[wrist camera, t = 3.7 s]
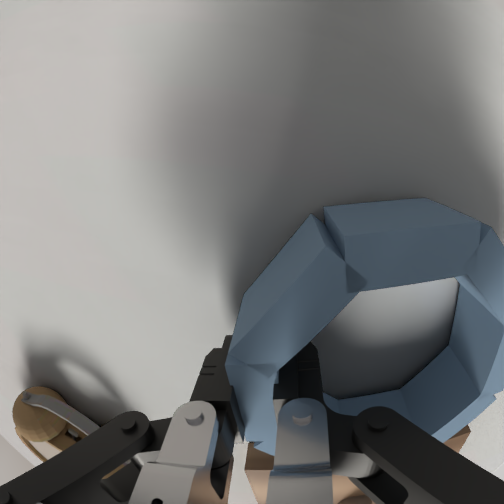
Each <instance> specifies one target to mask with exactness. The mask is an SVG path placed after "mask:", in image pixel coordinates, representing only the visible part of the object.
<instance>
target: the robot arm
mask: <svg viewBox="0 0 504 504" xmlns="http://www.w3.org/2000/svg"><path fill="white" fill-rule="evenodd" d="M232 336H233V335H226V337H225V340H224V343H223V346H222V348H214V349H213V350H212V351H211V352H210V353H209V354H208V355H207V356H206V357H205V360H204V363H203V365H202V368H201V371H200V375H199V376H198V379H197V382H196V385H195V388H194V390H193V393H192V396H191V399H190V401H189V402H188V403H185V404H183V405H181V406H180V407H179V408H178V409H177V410H176V411H175V412H174V414H173V417H171V418H167V419H161V420H155V421H149V420H148V418H147V416H146V415H145V414H143V413H141V412H138V411H129V412H125V413H123V414H121V415H119V416H117V417H116V418H114V419H113V420H111V421H110V422H108V423H107V424H105V425H104V426H102V427H100V428H99V429H97V430H96V431H94V432H93V433H91V434H90V435H88V436H86V437H85V438H83V439H82V440H80V441H78V442H77V443H75V444H74V445H72V446H70V447H69V448H67V449H65V450H64V451H62V452H60V453H59V454H57V455H55V456H54V457H52V458H50V459H49V460H47V461H45V462H43V463H42V464H40V465H38V466H37V467H35V468H33V469H31V470H29V471H28V472H26V473H24V474H22V475H21V476H19V477H17V478H15V479H13V480H11V481H9V482H8V483H6V484H4V485H2V486H0V504H228V495H229V488H230V482H231V475H232V469H233V462H234V458H233V455H232V453H233V447H234V443H239V444H243V441H244V435H245V426H244V423H243V419H242V416H241V412H240V409H239V405H238V402H237V398H236V395H235V391H234V387H233V385H230V383H229V379H228V376H227V372H226V368H225V362H226V359H227V355H228V351H229V348H230V344H231V340H232ZM273 405H274V411H275V417H276V423H277V435H276V447H275V457H274V467H273V470H271V471H270V475H269V481H268V489H267V497H266V504H333V484H332V474H333V475H340V476H347V477H348V478H349V480H350V481H351V482H352V483H353V484H355V485H356V486H357V487H358V488H359V489H360V490H361V491H362V492H363V493H364V494H365V495H367V496H368V497H369V498H370V499H371V500H372V501H373V502H374V503H376V504H504V481H503V480H501V479H499V478H498V477H496V476H494V475H493V474H491V473H489V472H488V471H486V470H484V469H483V468H481V467H480V466H478V465H476V464H475V463H473V462H472V461H470V460H468V459H467V458H465V457H464V456H462V455H460V454H459V453H457V452H456V451H454V450H453V449H451V448H450V447H448V446H446V445H445V444H443V443H442V442H440V441H439V440H437V439H436V438H434V437H433V436H431V435H430V434H428V433H427V432H425V431H424V430H422V429H421V428H419V427H418V426H416V425H415V424H413V423H412V422H411V421H409V420H408V419H406V418H405V417H403V416H402V415H400V414H399V413H397V412H396V411H395V410H393V409H391V408H388V407H384V406H375V407H370V408H367V409H365V410H363V411H362V412H360V413H359V414H358V415H357V416H352V415H344V414H339V413H336V412H334V411H332V410H331V409H330V408H329V407H328V406H327V405H326V404H325V402H324V398H323V390H322V382H321V374H320V366H319V358H318V351H317V349H316V347H315V346H314V345H313V344H312V343H311V342H309V343H308V344H307V345H306V346H305V347H303V348H302V349H301V350H300V351H299V352H298V353H297V354H296V355H295V356H294V357H293V358H291V359H290V360H289V361H288V362H287V363H286V364H285V365H284V366H283V367H281V368H280V369H279V382H278V384H274V386H273ZM129 459H130V460H131V462H130V463H129V464H127V465H126V466H124V467H123V468H121V469H120V470H118V471H117V472H116V473H114V474H113V475H111V476H110V477H108V478H106V479H102V478H103V477H104V476H106V475H107V474H109V473H110V472H112V471H113V470H115V469H116V468H118V467H119V466H120V465H122V464H123V463H125V462H126V461H128V460H129Z"/></svg>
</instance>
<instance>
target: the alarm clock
mask: <svg viewBox="0 0 504 504" xmlns="http://www.w3.org/2000/svg"><path fill="white" fill-rule="evenodd" d="M13 420H14V423H15V425H16V427H15V430H16V433H17V435H18V436H19V438H20V439H21V440H22V442H23V443H24V444H25V445H26V446H27V447H28V448H29V449H30V450H31V451H32V452H33V453H34V454H35V455H36V456H37V457H38V458H39V459H40V460H41V461H43V462H45V461H47V460H49V459H50V458H52V457H54V456H55V455H57V454H59V453H60V452H62V451H64V450H65V449H67V448H69V447H70V446H72V445H74V444H75V443H77V442H78V441H80V440H82V439H83V438H85V437H86V436H88V435H90V434H91V433H93V432H94V431H96V430H97V429H99V428H100V427H99V426H98V425H97V424H95V423H94V422H93V421H91V420H90V419H88V418H87V417H86V416H84V415H83V414H81V413H80V412H78V411H77V410H75V409H74V408H72V407H70V406H69V405H67V403H66V402H65V401H64V399H63V398H62V397H61V396H60V395H59V394H58V393H57V392H55V391H54V390H52V389H50V388H47V387H42V386H39V387H32V388H29V389H26V390H25V391H23V392H22V393H21V394H20V395H19V396H18V397H17V399H16V401H15V403H14V406H13ZM130 462H131V460H130V459H129V460H128V461H126V462H125V463H123V464H122V465H120V466H119V467H118V468H116V469H115V470H113V471H112V472H110V473H109V474H107V475H106V476H104V477H103V478H102V479H106V478H108V477H110V476H111V475H113V474H114V473H116V472H117V471H118V470H120V469H121V468H123V467H124V466H126V465H127V464H129V463H130Z"/></svg>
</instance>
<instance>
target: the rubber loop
mask: <svg viewBox="0 0 504 504" xmlns="http://www.w3.org/2000/svg"><path fill="white" fill-rule="evenodd" d="M324 218H325V224H324V223H322V222H321V221H320V220H319V219H317V218H316V217H315V216H314V215H312V214H310V215H309V217H308V218H307V219H306V220H305V222H304V223H303V224H302V225H301V226H300V228H299V229H298V230H297V231H296V232H295V234H294V235H293V236H292V237H291V239H290V240H289V241H288V242H287V243H286V245H285V246H284V247H283V248H282V249H281V251H280V252H279V253H278V254H277V255H276V257H275V258H274V259H273V260H272V261H271V263H270V264H269V265H268V266H267V267H266V269H265V270H264V271H263V272H262V273H261V275H260V276H259V277H258V278H257V279H256V280H255V282H254V283H253V284H252V285H251V286H250V288H249V289H248V290H247V291H246V292H245V293H244V296H243V299H242V303H241V307H240V310H239V314H238V318H237V322H236V325H235V329H234V333H233V336H232V340H231V344H230V348H229V351H228V355H227V359H226V362H225V368H226V372H227V376H228V379H229V383H230V385H233V387H234V391H235V395H236V398H237V402H238V405H239V409H240V412H241V416H242V419H243V423H244V426H245V438H246V441H254V448H256V449H258V450H260V451H263V452H265V453H268V454H270V455H273V456H275V447H276V435H277V423H276V417H275V411H274V405H273V386H274V384H278V382H279V369H280V368H281V367H283V366H284V365H285V364H286V363H287V362H288V361H289V360H290V359H291V358H293V357H294V356H295V355H296V354H297V353H298V352H299V351H300V350H301V349H302V348H303V347H305V346H306V345H307V344H308V343H309V342H310V341H311V340H312V339H313V338H314V337H315V336H316V335H317V334H318V333H319V332H320V331H321V330H322V329H323V328H324V327H325V326H326V325H327V324H328V323H329V322H330V321H331V320H332V319H333V318H334V317H335V316H336V315H337V314H338V313H339V312H340V311H341V310H342V309H343V308H344V307H345V306H346V305H347V304H348V303H349V302H350V301H351V300H352V299H353V298H354V297H355V296H356V295H357V294H358V293H359V292H361V291H368V290H375V289H383V288H389V287H396V286H403V285H409V284H416V283H422V282H428V281H434V280H440V279H446V278H451V277H455V278H456V279H457V281H458V282H459V283H460V288H459V294H458V301H457V306H456V312H455V317H454V322H453V327H452V332H451V336H450V341H449V345H448V346H447V347H446V348H445V349H444V350H443V351H442V352H441V353H440V354H439V355H438V356H437V357H436V358H435V359H434V360H433V361H432V362H431V363H429V364H428V365H427V366H426V367H425V368H424V369H423V370H422V371H421V372H420V373H418V374H417V375H416V376H415V377H414V378H413V379H411V380H410V381H409V382H408V383H407V384H406V385H404V386H403V387H402V388H401V389H398V390H394V391H389V392H384V393H378V394H373V395H367V396H361V397H355V398H348V399H341V400H337V399H335V398H333V397H331V396H329V395H327V394H326V393H324V392H323V398H324V402H325V404H326V405H327V406H328V407H329V408H330V409H331V410H332V411H334V412H336V413H339V414H344V415H352V416H357V415H358V414H359V413H360V412H362V411H363V410H365V409H367V408H370V407H375V406H384V407H388V408H391V409H393V410H395V411H396V412H397V413H399V414H400V415H402V416H403V417H405V418H406V419H408V420H409V421H411V422H412V423H413V424H415V425H416V426H418V427H419V428H421V429H422V430H424V431H425V432H427V433H428V434H430V435H431V436H433V437H434V438H436V439H437V440H439V441H440V442H442V443H444V442H445V441H447V440H448V439H449V438H451V437H452V436H453V435H455V434H456V433H457V432H459V431H460V430H461V429H462V428H464V427H465V426H466V425H467V424H469V423H470V422H471V421H472V420H473V419H475V418H476V417H477V416H478V415H479V414H480V413H482V412H483V411H484V410H485V409H486V408H487V407H488V406H489V405H490V404H492V403H493V402H494V401H495V400H496V397H495V396H494V394H496V393H498V392H501V391H503V389H504V246H503V244H502V243H501V241H500V239H499V238H498V236H497V235H496V233H495V232H494V230H493V229H492V227H490V226H488V225H486V224H484V223H482V222H480V221H478V220H476V219H474V218H472V217H469V216H467V215H465V214H463V213H460V212H458V211H456V210H454V209H451V208H449V207H447V206H444V205H442V204H440V203H437V202H435V201H432V200H430V199H427V198H416V199H403V200H390V201H378V202H367V203H356V204H346V205H336V206H326V207H324Z"/></svg>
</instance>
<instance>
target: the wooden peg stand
mask: <svg viewBox="0 0 504 504" xmlns="http://www.w3.org/2000/svg"><path fill="white" fill-rule="evenodd" d="M470 432H471V431H470V429H469V426H468V424H467V425H466V426H465V427H464V428H462V429H461V430H460V431H459V432H457V433H456V434H455V435H453V436H452V437H451V438H449V439H448V440H447V441H445V442H444V443H443V444H445V445H446V446H448V447H450V448H451V449H453V450H454V451H456V452H457V453H458V452H459V451H460V449H461V448H462V446H463V444H464V443H465V441H466V439H467V438H468V436H469V434H470ZM274 457H275V456H273V455H270V454H268V453H265V452H263V451H260V450H258V449H256V448H254V443H248V450H247V457H246V463H245V473H246V475H247V478H248V480H249V483H250V485H251V488H252V490H253V492H254V495H255V497H256V500H257V502H258V504H266V497H267V489H268V481H269V475H270V471H271V470H273V467H274ZM332 484H333V504H376V503H374V502H373V501H372V500H371V499H370V498H369V497H368V496H367V495H365V494H364V493H363V492H362V491H361V490H360V489H359V488H358V487H357V486H356V485H355V484H353V483H352V482H351V481H350V480H349V478H348V477H347V476H340V475H333V474H332Z"/></svg>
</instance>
